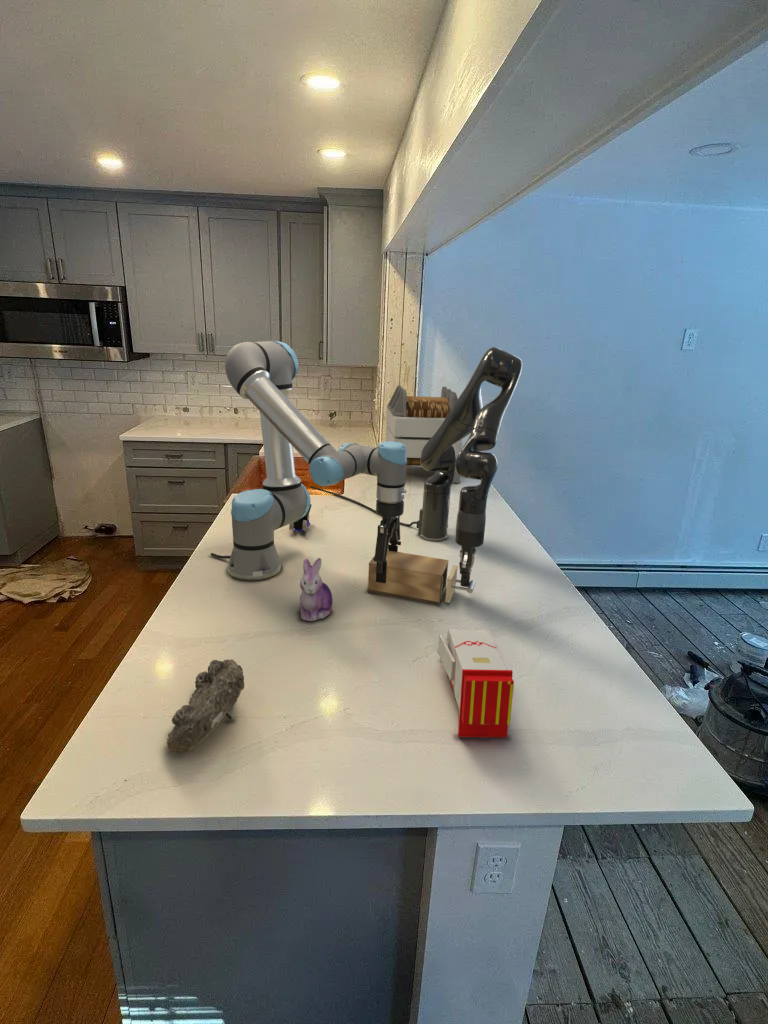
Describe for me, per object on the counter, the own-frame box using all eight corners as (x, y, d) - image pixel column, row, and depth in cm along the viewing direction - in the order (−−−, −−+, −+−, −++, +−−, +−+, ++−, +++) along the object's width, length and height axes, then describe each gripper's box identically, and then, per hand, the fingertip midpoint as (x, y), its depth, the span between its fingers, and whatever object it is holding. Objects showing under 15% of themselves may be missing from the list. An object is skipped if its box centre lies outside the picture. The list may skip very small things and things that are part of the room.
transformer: (382, 463, 289) (386, 382, 275) (445, 464, 293) (451, 384, 279) (390, 482, 257) (394, 392, 243) (460, 483, 261) (468, 394, 247)
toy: (488, 613, 130) (523, 677, 101) (484, 667, 133) (517, 744, 104) (435, 612, 130) (455, 676, 101) (432, 666, 133) (451, 743, 103)
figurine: (305, 626, 140) (305, 571, 134) (291, 607, 148) (291, 554, 143) (340, 618, 144) (341, 564, 139) (325, 600, 152) (325, 549, 147)
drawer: (475, 591, 159) (477, 568, 157) (470, 606, 151) (472, 582, 149) (391, 576, 166) (392, 554, 163) (382, 590, 157) (383, 567, 155)
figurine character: (308, 540, 194) (312, 520, 207) (307, 521, 190) (312, 501, 204) (288, 540, 194) (294, 519, 207) (287, 520, 190) (293, 501, 204)
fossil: (192, 660, 117) (244, 628, 112) (224, 691, 120) (276, 661, 115) (142, 746, 98) (202, 712, 93) (182, 779, 101) (242, 748, 96)
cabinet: (446, 588, 162) (448, 560, 159) (438, 605, 153) (441, 575, 150) (378, 576, 167) (380, 548, 164) (367, 592, 158) (368, 562, 155)
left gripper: (391, 515, 142) (387, 594, 149) (413, 489, 162) (409, 560, 170) (363, 510, 144) (360, 589, 151) (388, 486, 164) (385, 556, 172)
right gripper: (481, 536, 142) (475, 598, 147) (487, 519, 154) (481, 577, 159) (452, 532, 144) (446, 593, 149) (460, 516, 156) (455, 573, 161)
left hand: (386, 573), depth 160 cm, fingers closed on cabinet, 10 cm apart
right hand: (464, 585), depth 154 cm, fingers closed
